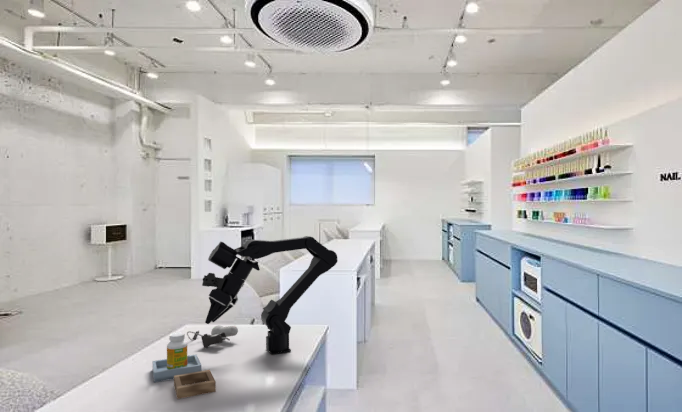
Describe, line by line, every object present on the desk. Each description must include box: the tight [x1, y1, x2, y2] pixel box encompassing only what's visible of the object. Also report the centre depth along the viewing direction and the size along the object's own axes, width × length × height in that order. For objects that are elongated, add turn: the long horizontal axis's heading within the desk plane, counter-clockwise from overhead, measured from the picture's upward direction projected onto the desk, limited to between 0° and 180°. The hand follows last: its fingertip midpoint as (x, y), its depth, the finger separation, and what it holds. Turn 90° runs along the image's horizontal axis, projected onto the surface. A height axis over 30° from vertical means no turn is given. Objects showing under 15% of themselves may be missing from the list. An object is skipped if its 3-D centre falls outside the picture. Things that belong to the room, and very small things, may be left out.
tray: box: [152, 354, 203, 383], centre depth 119 cm, size 12×10×2 cm
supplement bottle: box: [166, 331, 188, 370], centre depth 119 cm, size 5×5×10 cm
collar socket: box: [173, 369, 217, 400], centre depth 107 cm, size 9×9×2 cm
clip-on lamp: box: [186, 325, 239, 349], centre depth 145 cm, size 12×6×18 cm
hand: (209, 322), depth 127 cm, fingers open, 9 cm apart
